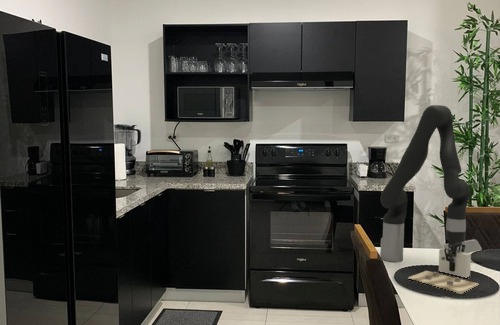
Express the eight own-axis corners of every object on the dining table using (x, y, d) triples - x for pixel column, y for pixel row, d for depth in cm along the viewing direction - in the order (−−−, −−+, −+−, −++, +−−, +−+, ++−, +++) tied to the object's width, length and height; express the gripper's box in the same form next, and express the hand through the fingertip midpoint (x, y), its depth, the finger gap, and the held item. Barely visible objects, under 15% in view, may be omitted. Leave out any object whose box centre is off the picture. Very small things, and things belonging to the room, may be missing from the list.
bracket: (450, 265, 230) (484, 258, 223) (443, 245, 231) (476, 236, 224) (451, 263, 234) (485, 256, 226) (444, 243, 235) (477, 235, 228)
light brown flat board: (408, 279, 202) (408, 273, 201) (426, 272, 211) (426, 267, 211) (461, 294, 185) (461, 287, 185) (478, 286, 194) (478, 279, 194)
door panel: (437, 272, 211) (438, 249, 210) (442, 271, 213) (443, 247, 213) (465, 279, 202) (466, 255, 201) (469, 277, 204) (470, 253, 204)
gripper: (455, 225, 214) (453, 265, 215) (438, 230, 205) (436, 271, 206) (472, 228, 208) (470, 269, 210) (456, 233, 199) (454, 275, 200)
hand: (454, 270), depth 208 cm, fingers closed on door panel, 3 cm apart
